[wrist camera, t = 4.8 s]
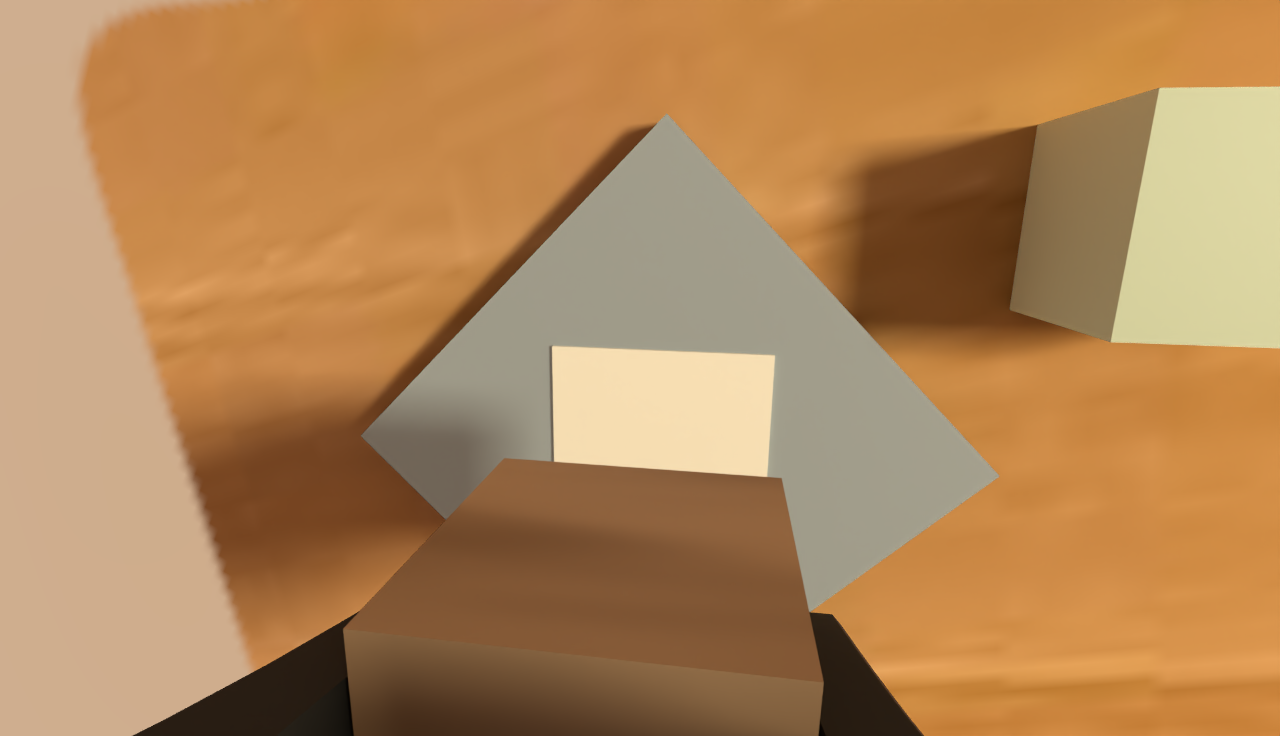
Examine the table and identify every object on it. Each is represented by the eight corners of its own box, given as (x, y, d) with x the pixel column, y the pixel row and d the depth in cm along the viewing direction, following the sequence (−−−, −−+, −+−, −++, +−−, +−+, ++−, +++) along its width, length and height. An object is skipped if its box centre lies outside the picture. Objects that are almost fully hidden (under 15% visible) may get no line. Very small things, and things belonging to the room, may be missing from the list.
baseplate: (657, 697, 18) (652, 727, 17) (380, 423, 17) (358, 437, 16) (982, 460, 15) (1001, 478, 14) (670, 120, 14) (666, 112, 13)
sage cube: (1199, 315, 14) (1379, 351, 10) (1007, 309, 14) (1110, 342, 11) (1242, 124, 13) (1457, 84, 9) (1035, 125, 14) (1158, 87, 10)
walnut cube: (762, 720, 10) (785, 1055, 6) (512, 690, 10) (379, 977, 6) (781, 477, 9) (823, 683, 5) (503, 458, 9) (342, 629, 5)
